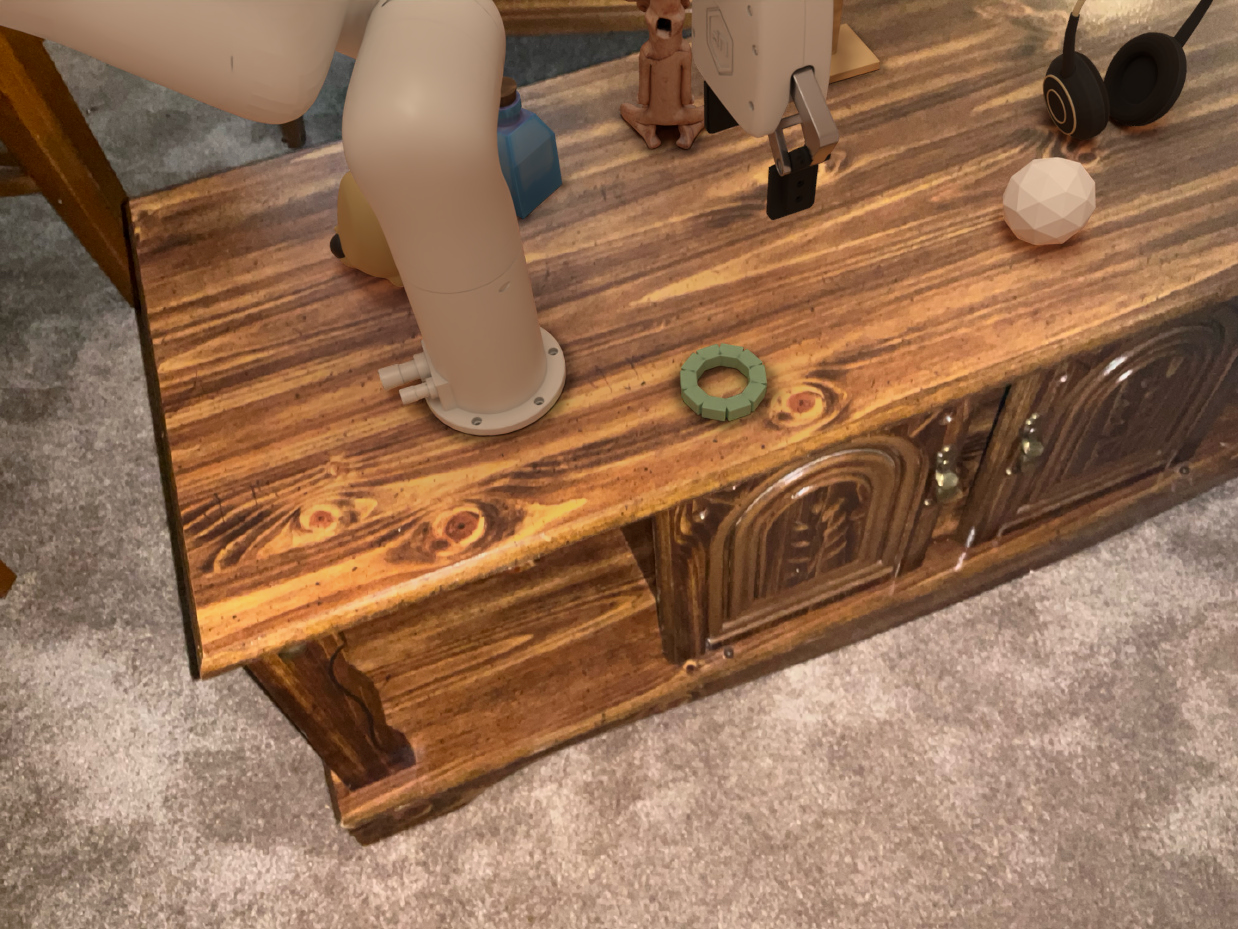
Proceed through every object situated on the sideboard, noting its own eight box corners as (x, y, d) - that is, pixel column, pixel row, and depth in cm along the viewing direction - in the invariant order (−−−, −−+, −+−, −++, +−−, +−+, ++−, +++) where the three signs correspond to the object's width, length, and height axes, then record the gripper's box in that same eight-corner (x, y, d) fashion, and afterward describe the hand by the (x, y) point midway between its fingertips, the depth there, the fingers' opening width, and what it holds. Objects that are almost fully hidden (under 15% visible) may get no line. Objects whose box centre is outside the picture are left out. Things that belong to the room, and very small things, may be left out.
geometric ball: (1004, 254, 92) (970, 187, 88) (1074, 201, 91) (1042, 131, 88) (1053, 273, 85) (1019, 201, 82) (1129, 216, 85) (1097, 140, 81)
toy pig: (434, 257, 99) (359, 175, 96) (480, 215, 88) (398, 122, 86) (369, 317, 94) (288, 233, 91) (409, 280, 84) (320, 184, 81)
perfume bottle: (523, 219, 96) (502, 116, 86) (477, 196, 98) (452, 93, 88) (562, 183, 98) (546, 79, 88) (516, 162, 101) (496, 58, 91)
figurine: (721, 109, 103) (725, -82, 86) (704, 159, 99) (705, -32, 82) (627, 98, 105) (613, -90, 89) (606, 147, 101) (587, -42, 84)
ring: (780, 404, 81) (781, 393, 80) (698, 431, 80) (698, 421, 79) (745, 344, 85) (746, 333, 83) (667, 369, 84) (666, 359, 82)
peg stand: (812, 88, 104) (823, -10, 95) (780, 49, 108) (788, -49, 99) (879, 69, 105) (896, -30, 96) (845, 30, 109) (858, -67, 100)
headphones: (1007, 115, 99) (1069, -84, 83) (1138, 84, 100) (1224, -118, 84) (1050, 167, 94) (1125, -33, 78) (1186, 133, 96) (1288, -71, 79)
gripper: (641, -145, 55) (656, 112, 69) (777, 5, 45) (762, 267, 60) (760, -178, 56) (751, 82, 70) (917, -38, 46) (870, 229, 61)
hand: (756, 167), depth 65 cm, fingers open, 9 cm apart
